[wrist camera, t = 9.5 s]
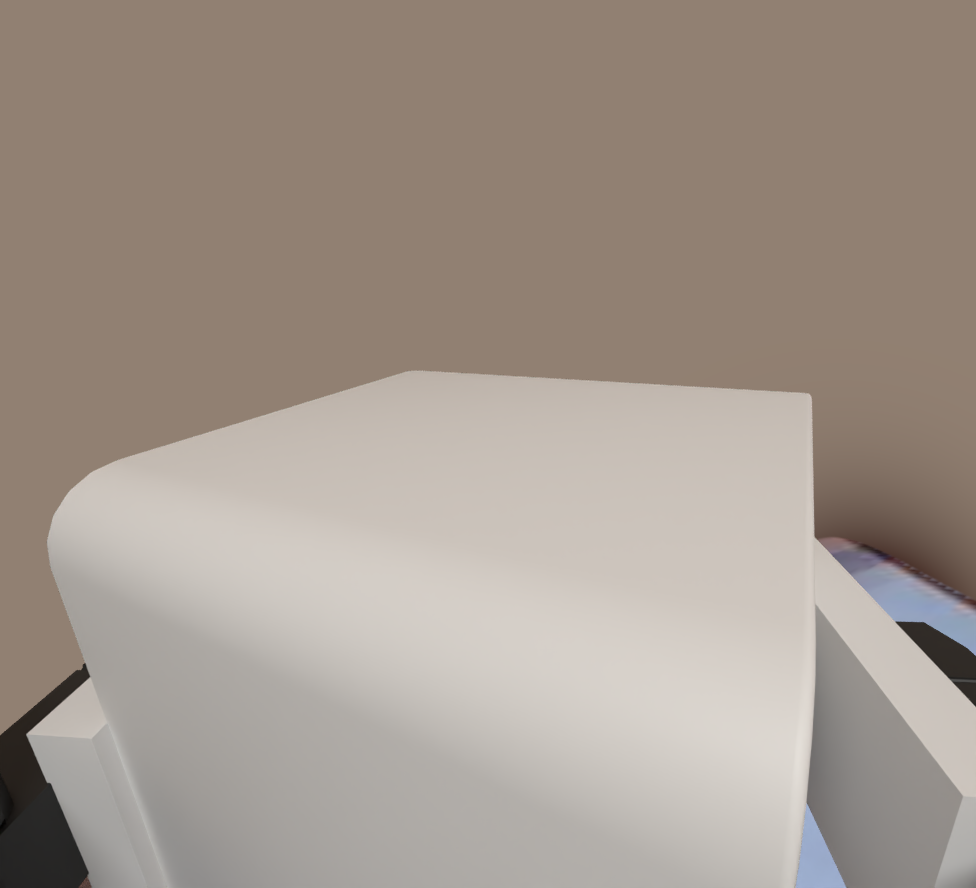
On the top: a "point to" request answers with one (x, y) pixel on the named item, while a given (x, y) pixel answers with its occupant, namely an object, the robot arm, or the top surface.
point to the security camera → (461, 636)
